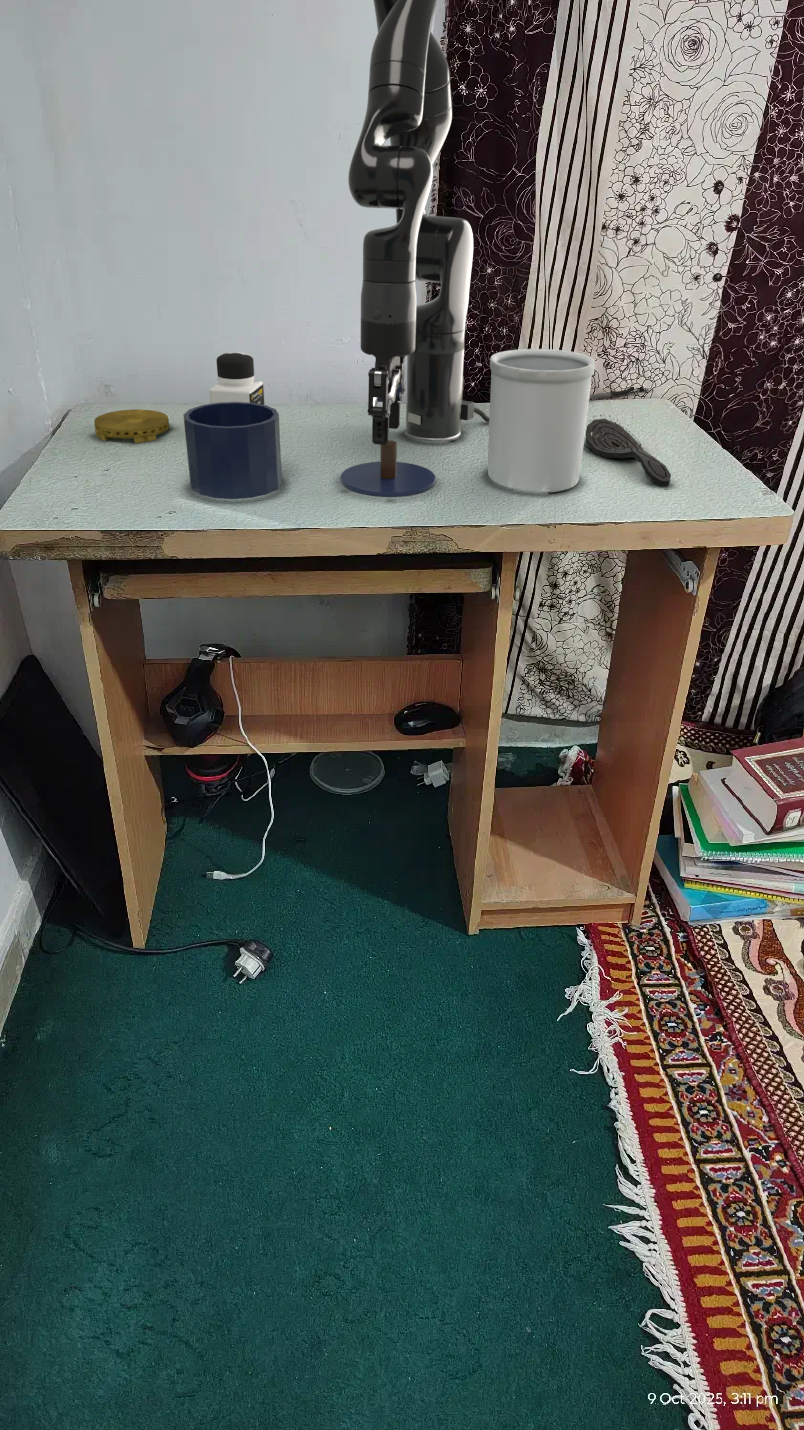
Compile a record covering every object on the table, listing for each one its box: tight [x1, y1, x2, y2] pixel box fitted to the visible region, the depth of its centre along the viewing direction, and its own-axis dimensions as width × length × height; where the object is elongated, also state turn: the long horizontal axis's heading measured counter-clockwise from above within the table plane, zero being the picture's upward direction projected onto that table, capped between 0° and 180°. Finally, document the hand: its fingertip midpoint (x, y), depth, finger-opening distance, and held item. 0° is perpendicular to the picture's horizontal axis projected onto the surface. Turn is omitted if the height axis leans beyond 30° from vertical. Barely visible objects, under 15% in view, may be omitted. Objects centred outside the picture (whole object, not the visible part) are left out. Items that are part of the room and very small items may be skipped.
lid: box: [340, 439, 437, 498], centre depth 144 cm, size 14×14×6 cm
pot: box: [182, 402, 283, 500], centre depth 141 cm, size 13×13×10 cm
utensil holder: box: [487, 348, 596, 494], centre depth 144 cm, size 15×15×18 cm
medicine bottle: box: [209, 351, 265, 405], centre depth 165 cm, size 7×7×12 cm
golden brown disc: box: [93, 409, 170, 444], centre depth 165 cm, size 12×12×2 cm
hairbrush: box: [585, 414, 672, 488], centre depth 156 cm, size 8×4×25 cm
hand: (386, 435), depth 142 cm, fingers open, 8 cm apart
